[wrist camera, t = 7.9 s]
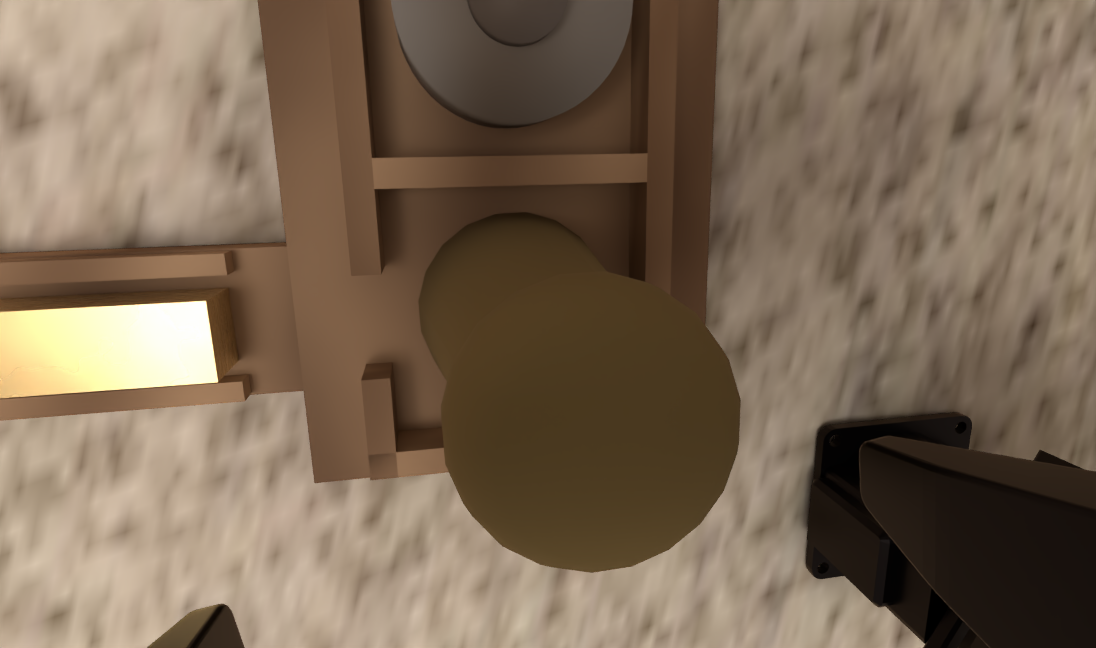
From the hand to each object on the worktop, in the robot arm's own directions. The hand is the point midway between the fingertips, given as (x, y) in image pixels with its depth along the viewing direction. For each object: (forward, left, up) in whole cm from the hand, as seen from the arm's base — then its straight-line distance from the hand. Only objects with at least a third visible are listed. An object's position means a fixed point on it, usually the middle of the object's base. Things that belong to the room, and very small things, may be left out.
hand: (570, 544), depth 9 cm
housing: (+4, -5, -13) cm, 15 cm away
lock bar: (+10, -1, -12) cm, 16 cm away
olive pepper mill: (-1, -1, -12) cm, 12 cm away
